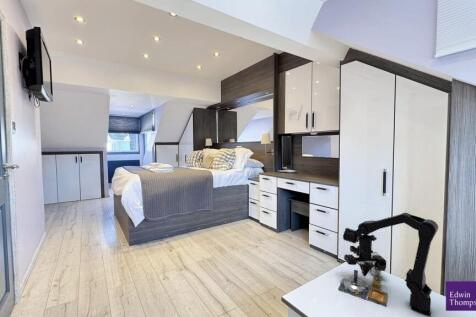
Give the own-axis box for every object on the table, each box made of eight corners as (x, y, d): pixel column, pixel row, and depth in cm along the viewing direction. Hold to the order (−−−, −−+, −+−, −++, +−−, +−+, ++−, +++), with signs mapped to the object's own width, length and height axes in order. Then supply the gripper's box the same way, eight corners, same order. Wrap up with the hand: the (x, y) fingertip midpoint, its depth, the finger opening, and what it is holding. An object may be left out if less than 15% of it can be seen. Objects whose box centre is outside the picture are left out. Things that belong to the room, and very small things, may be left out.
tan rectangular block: (381, 286, 114) (381, 279, 114) (380, 291, 110) (380, 283, 110) (373, 284, 116) (373, 276, 116) (372, 288, 112) (372, 281, 112)
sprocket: (369, 285, 113) (369, 272, 113) (366, 297, 104) (366, 284, 103) (343, 276, 121) (344, 265, 120) (338, 287, 111) (338, 275, 111)
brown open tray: (387, 296, 107) (387, 292, 107) (386, 306, 99) (386, 303, 99) (369, 290, 111) (369, 286, 111) (367, 299, 104) (367, 296, 104)
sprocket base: (369, 287, 113) (369, 285, 113) (365, 299, 104) (365, 298, 104) (343, 278, 121) (343, 277, 121) (338, 289, 111) (338, 288, 111)
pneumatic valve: (374, 269, 130) (375, 249, 130) (386, 281, 119) (387, 259, 118) (364, 268, 131) (365, 248, 130) (375, 280, 119) (376, 258, 119)
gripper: (374, 240, 122) (373, 268, 123) (340, 239, 123) (339, 267, 124) (387, 249, 111) (386, 280, 112) (349, 248, 112) (348, 278, 113)
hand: (364, 276), depth 115 cm, fingers closed
